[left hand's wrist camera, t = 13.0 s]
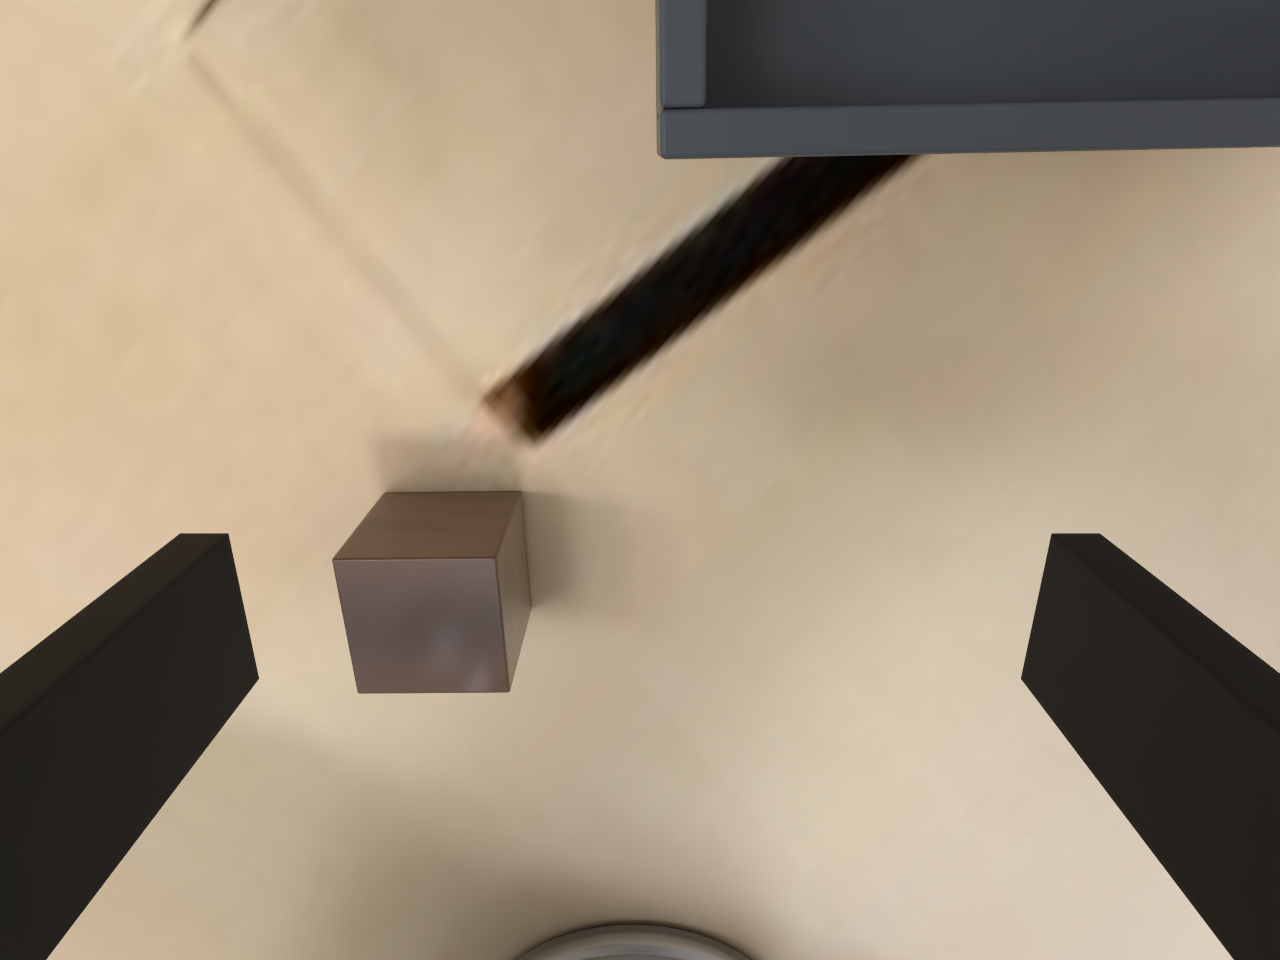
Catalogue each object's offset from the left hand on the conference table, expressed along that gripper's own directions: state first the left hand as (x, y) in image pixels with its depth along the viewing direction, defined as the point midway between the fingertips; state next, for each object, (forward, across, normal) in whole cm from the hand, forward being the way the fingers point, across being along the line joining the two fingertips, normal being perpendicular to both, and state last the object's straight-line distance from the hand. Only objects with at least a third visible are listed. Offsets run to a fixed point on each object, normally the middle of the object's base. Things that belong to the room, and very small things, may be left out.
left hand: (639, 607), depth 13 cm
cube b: (+15, +7, +6) cm, 18 cm away
